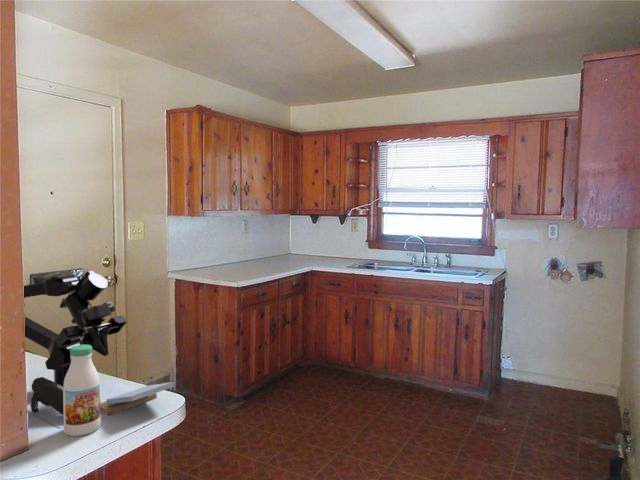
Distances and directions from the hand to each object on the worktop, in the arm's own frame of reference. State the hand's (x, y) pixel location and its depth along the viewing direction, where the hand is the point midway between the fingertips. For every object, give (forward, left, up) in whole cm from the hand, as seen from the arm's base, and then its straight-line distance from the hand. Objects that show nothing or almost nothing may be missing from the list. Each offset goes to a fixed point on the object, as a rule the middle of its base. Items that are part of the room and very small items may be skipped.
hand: (106, 355), depth 125 cm
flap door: (+9, +1, -10) cm, 13 cm away
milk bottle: (+14, -13, -12) cm, 23 cm away
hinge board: (+8, +1, -12) cm, 15 cm away
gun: (+1, -13, -12) cm, 18 cm away
